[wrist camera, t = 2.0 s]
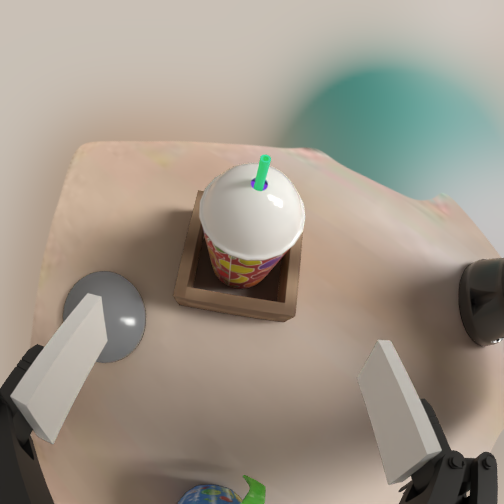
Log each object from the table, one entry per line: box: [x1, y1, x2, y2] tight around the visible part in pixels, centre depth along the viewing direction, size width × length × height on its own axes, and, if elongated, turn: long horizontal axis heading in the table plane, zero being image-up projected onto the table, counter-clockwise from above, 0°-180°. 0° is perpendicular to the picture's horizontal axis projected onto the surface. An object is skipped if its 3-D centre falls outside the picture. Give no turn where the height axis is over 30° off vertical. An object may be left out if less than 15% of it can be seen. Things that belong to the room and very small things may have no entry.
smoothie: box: [199, 155, 305, 289], centre depth 26 cm, size 8×8×20 cm
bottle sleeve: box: [173, 190, 303, 322], centre depth 33 cm, size 12×12×5 cm
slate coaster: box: [63, 271, 146, 363], centre depth 30 cm, size 11×11×1 cm
